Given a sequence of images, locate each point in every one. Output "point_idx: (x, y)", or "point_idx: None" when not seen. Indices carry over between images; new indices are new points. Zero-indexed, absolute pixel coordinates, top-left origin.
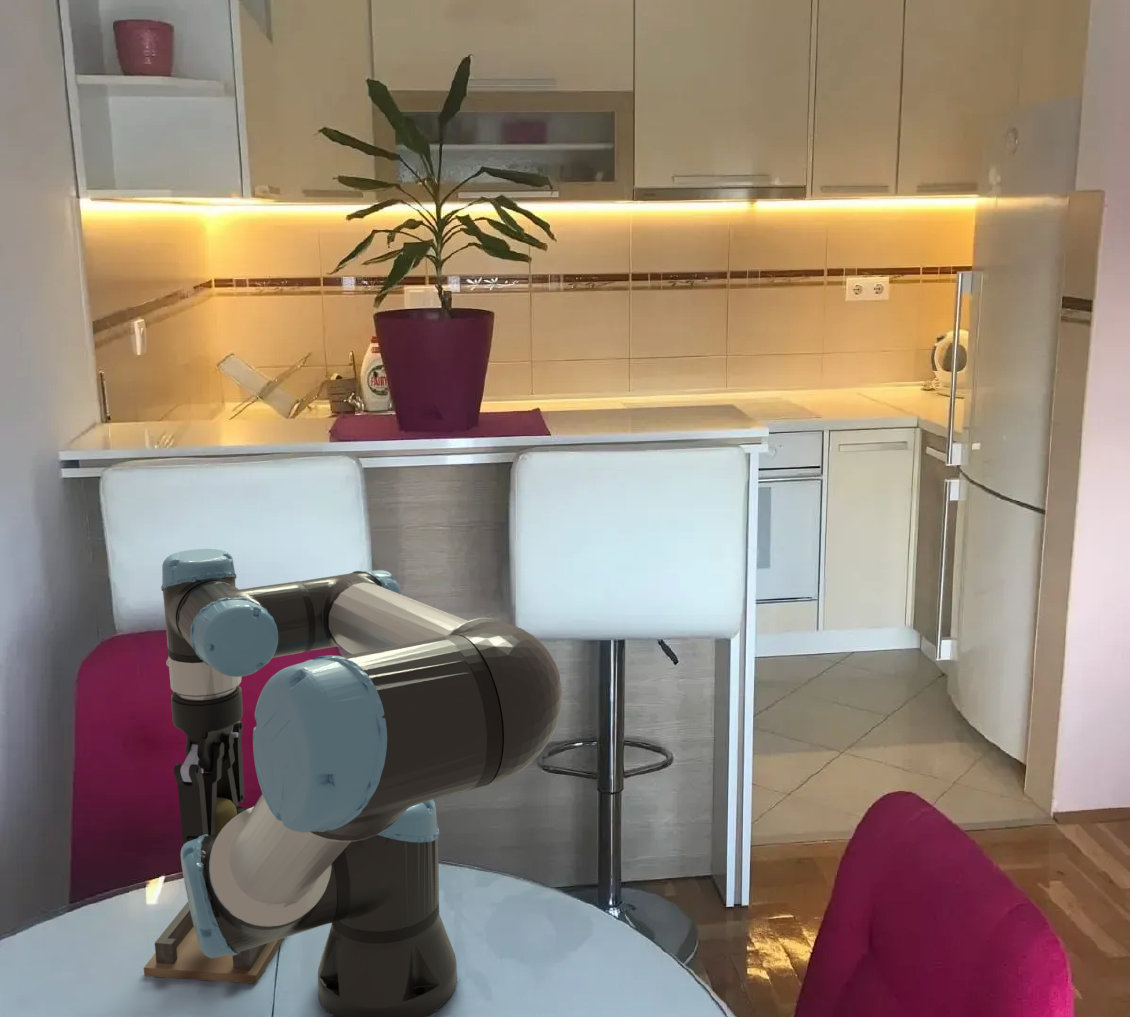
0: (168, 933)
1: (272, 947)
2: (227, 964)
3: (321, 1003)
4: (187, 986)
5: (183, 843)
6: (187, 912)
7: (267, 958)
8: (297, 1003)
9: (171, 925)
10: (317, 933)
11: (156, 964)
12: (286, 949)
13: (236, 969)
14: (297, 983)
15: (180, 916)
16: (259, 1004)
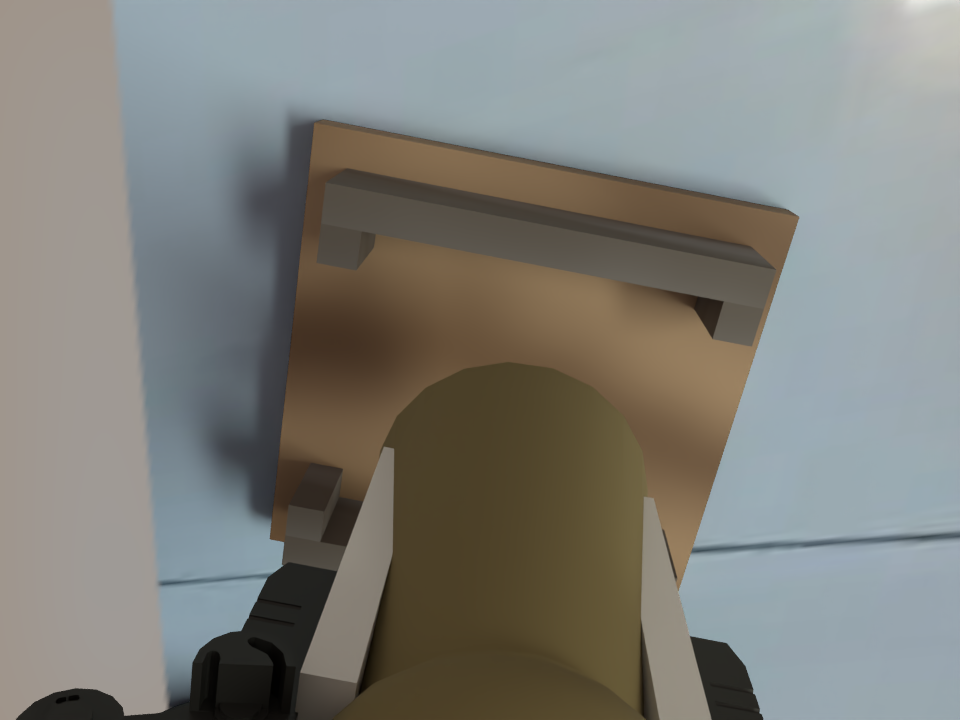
0: (399, 227)
1: None
2: (335, 438)
3: (175, 707)
4: (260, 303)
5: (39, 701)
6: (573, 271)
7: None
8: (185, 642)
9: (467, 223)
10: None
11: (338, 171)
12: None
13: (301, 474)
14: None
15: (541, 247)
16: (174, 544)
